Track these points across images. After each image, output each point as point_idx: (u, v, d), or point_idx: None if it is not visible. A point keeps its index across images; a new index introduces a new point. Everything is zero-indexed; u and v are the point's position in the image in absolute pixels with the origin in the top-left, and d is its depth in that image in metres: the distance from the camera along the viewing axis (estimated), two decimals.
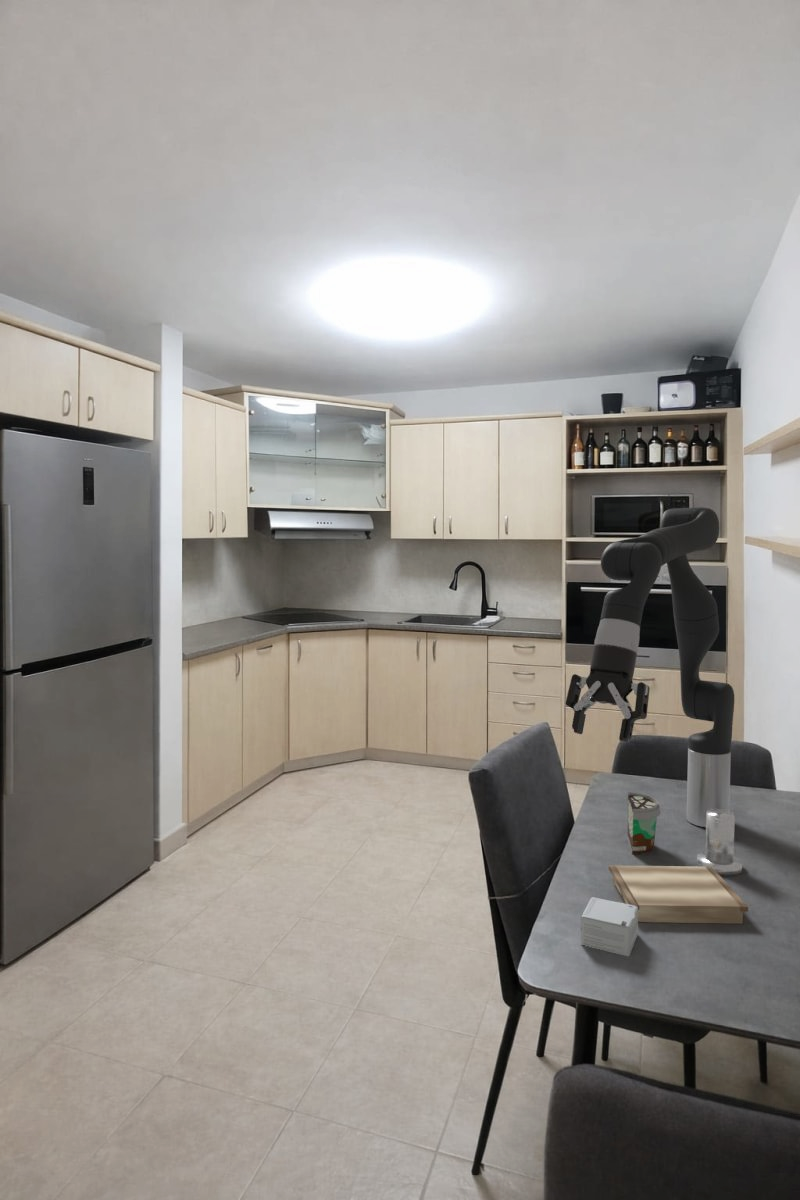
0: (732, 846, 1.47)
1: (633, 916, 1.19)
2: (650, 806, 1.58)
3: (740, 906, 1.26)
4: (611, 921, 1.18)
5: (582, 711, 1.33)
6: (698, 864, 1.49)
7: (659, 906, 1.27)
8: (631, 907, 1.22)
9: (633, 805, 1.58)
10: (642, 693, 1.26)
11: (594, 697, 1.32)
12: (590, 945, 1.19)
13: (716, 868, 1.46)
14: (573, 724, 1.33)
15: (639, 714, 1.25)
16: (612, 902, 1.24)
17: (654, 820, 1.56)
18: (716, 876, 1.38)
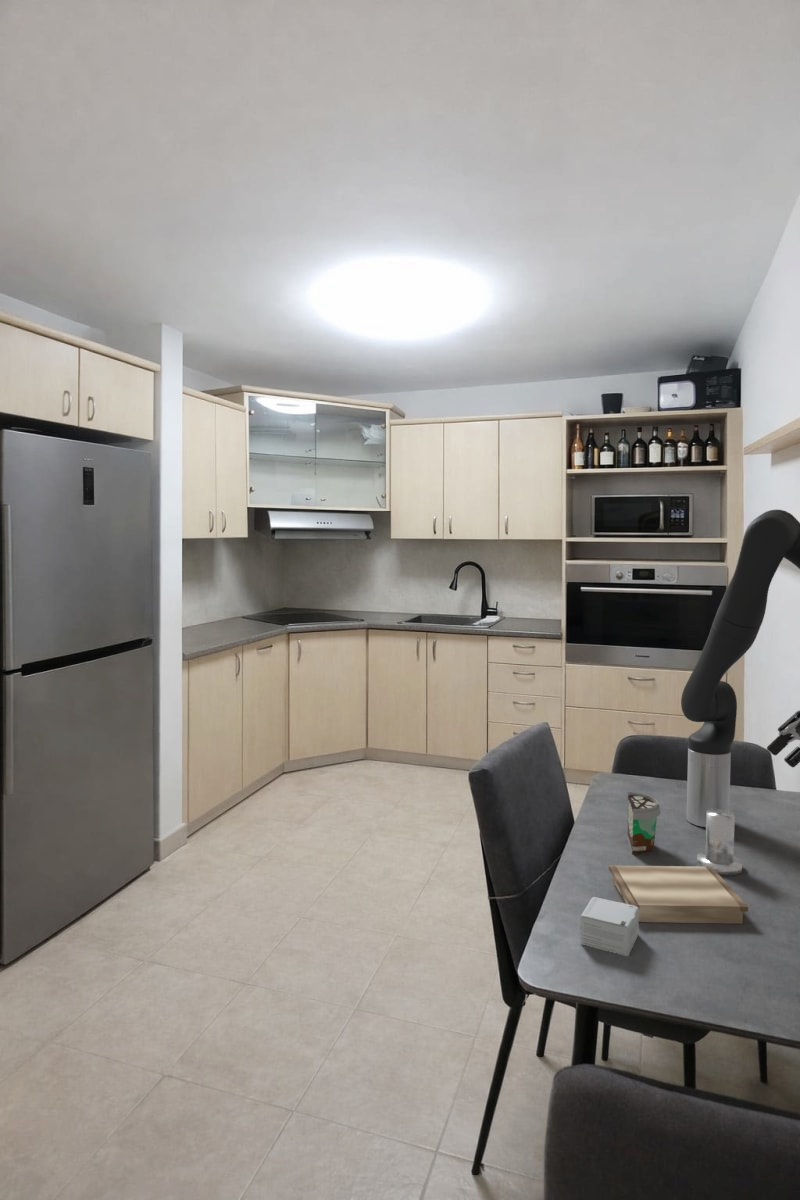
0: (732, 846, 1.47)
1: (633, 916, 1.19)
2: (650, 806, 1.58)
3: (740, 906, 1.26)
4: (610, 921, 1.18)
5: None
6: (698, 864, 1.49)
7: (659, 906, 1.27)
8: (632, 907, 1.22)
9: (633, 805, 1.58)
10: None
11: None
12: (590, 945, 1.19)
13: (716, 868, 1.46)
14: (797, 762, 1.42)
15: None
16: (613, 902, 1.24)
17: (654, 820, 1.56)
18: (716, 876, 1.38)
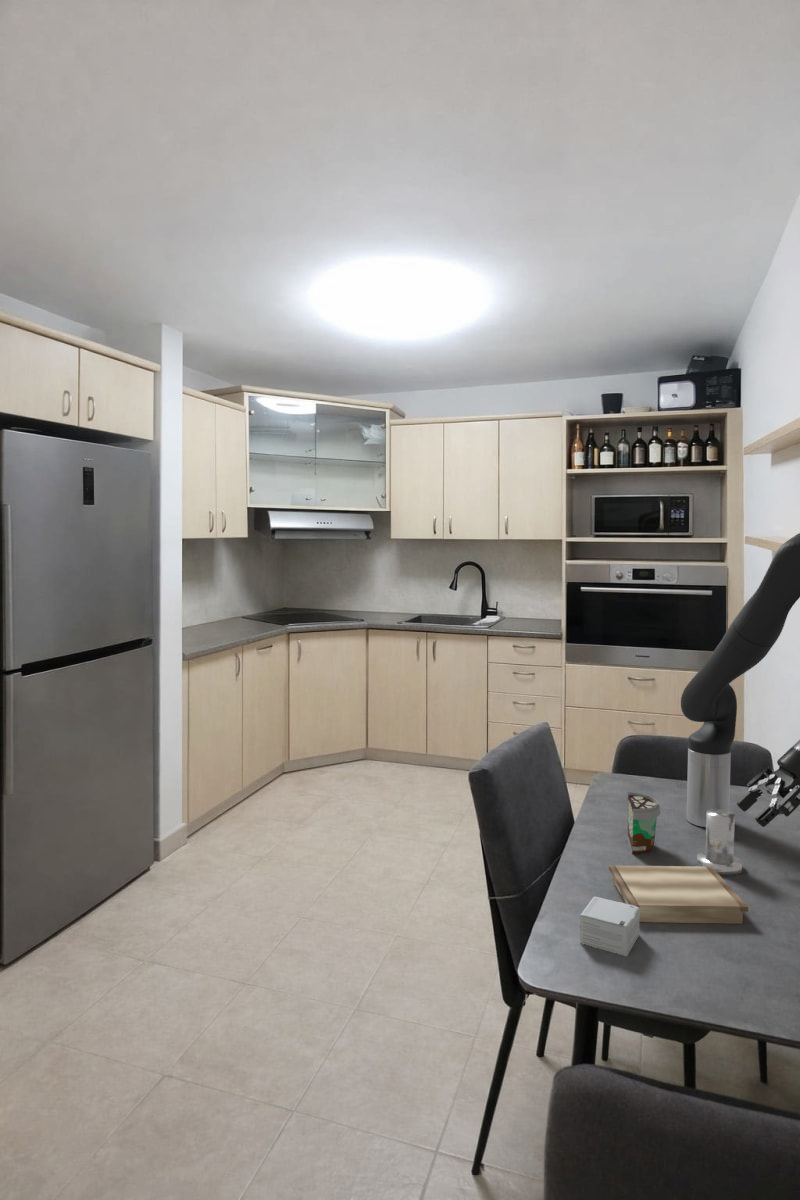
0: (732, 846, 1.47)
1: (633, 916, 1.19)
2: (650, 806, 1.58)
3: (740, 906, 1.26)
4: (609, 920, 1.18)
5: None
6: (698, 864, 1.49)
7: (659, 906, 1.27)
8: (632, 907, 1.22)
9: (633, 805, 1.58)
10: None
11: None
12: (589, 944, 1.20)
13: (716, 868, 1.46)
14: None
15: None
16: (614, 902, 1.24)
17: (654, 820, 1.56)
18: (716, 876, 1.38)
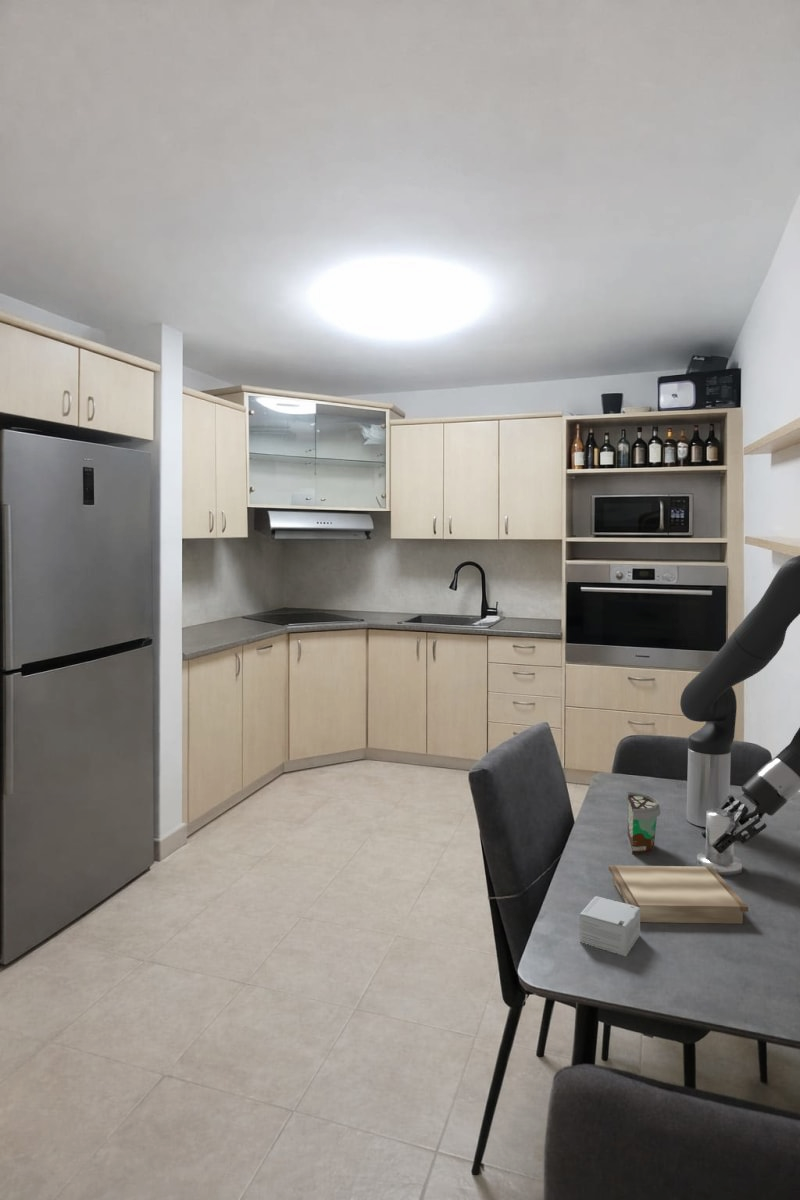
0: (732, 846, 1.47)
1: (633, 916, 1.19)
2: (650, 806, 1.58)
3: (740, 906, 1.26)
4: (608, 920, 1.18)
5: None
6: (698, 864, 1.49)
7: (659, 906, 1.27)
8: (633, 908, 1.22)
9: (633, 805, 1.58)
10: None
11: None
12: (589, 943, 1.20)
13: (716, 868, 1.46)
14: None
15: None
16: (615, 902, 1.24)
17: (654, 820, 1.56)
18: (716, 876, 1.38)
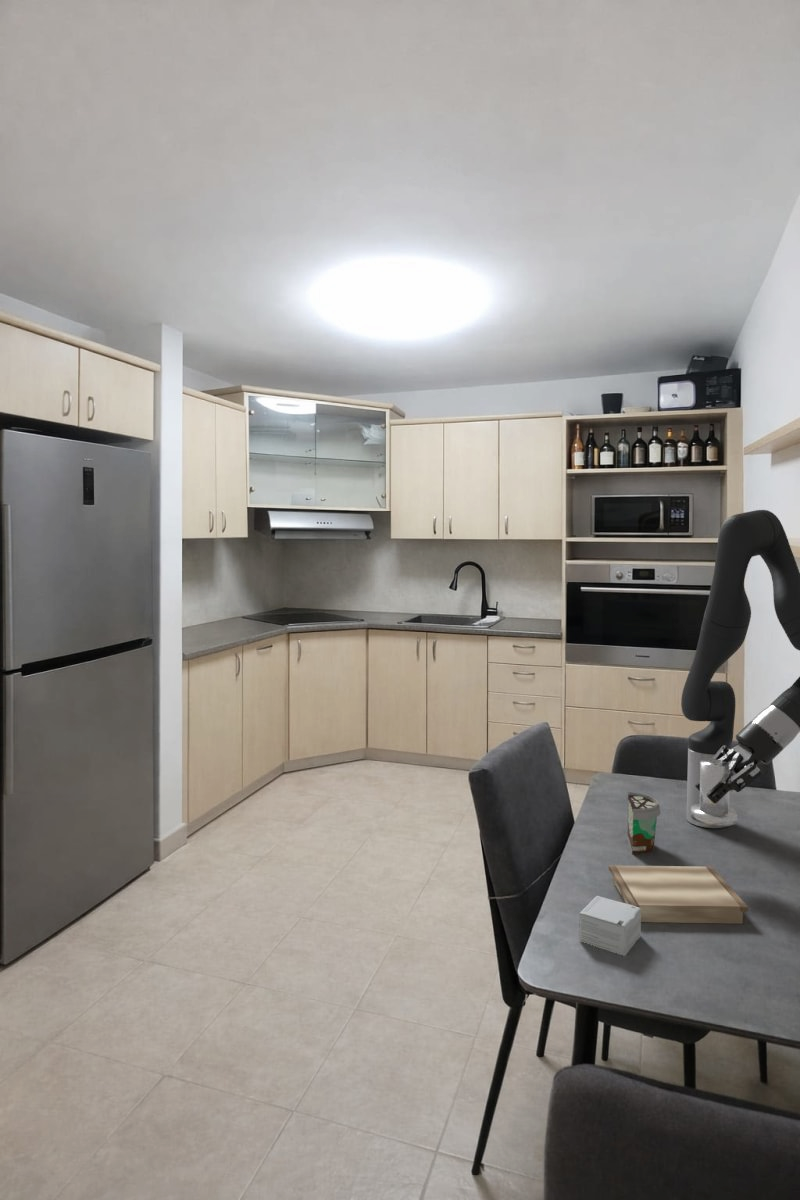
0: (727, 796, 1.42)
1: (632, 916, 1.19)
2: (650, 806, 1.58)
3: (740, 906, 1.26)
4: (608, 919, 1.18)
5: None
6: (692, 816, 1.45)
7: (659, 906, 1.27)
8: (633, 908, 1.22)
9: (633, 805, 1.58)
10: None
11: None
12: (588, 942, 1.20)
13: (710, 818, 1.41)
14: (719, 798, 1.41)
15: None
16: (615, 902, 1.24)
17: (654, 820, 1.56)
18: (716, 876, 1.38)
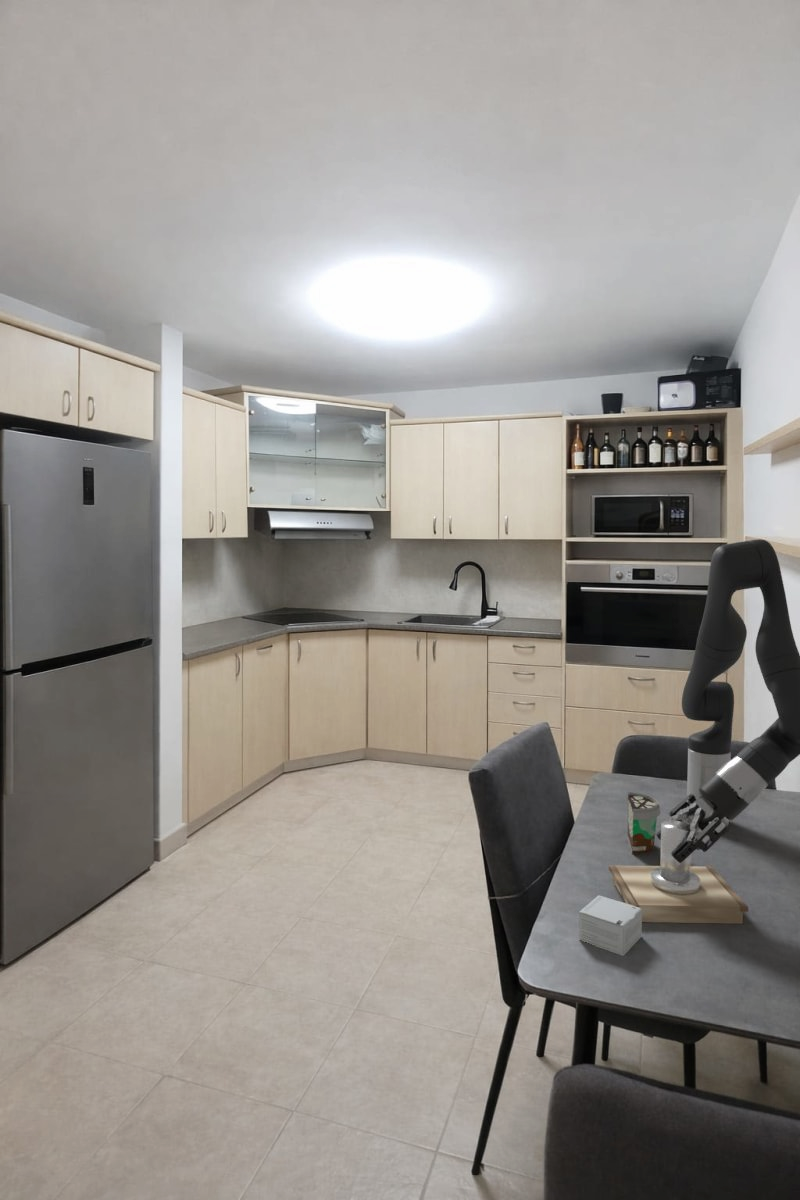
0: (689, 862, 1.32)
1: (632, 917, 1.19)
2: (650, 806, 1.58)
3: (740, 906, 1.26)
4: (607, 919, 1.18)
5: None
6: (652, 882, 1.35)
7: (659, 906, 1.27)
8: (634, 908, 1.22)
9: (633, 805, 1.58)
10: None
11: None
12: (587, 941, 1.20)
13: (670, 887, 1.31)
14: None
15: None
16: (617, 902, 1.24)
17: (654, 820, 1.56)
18: (716, 876, 1.38)
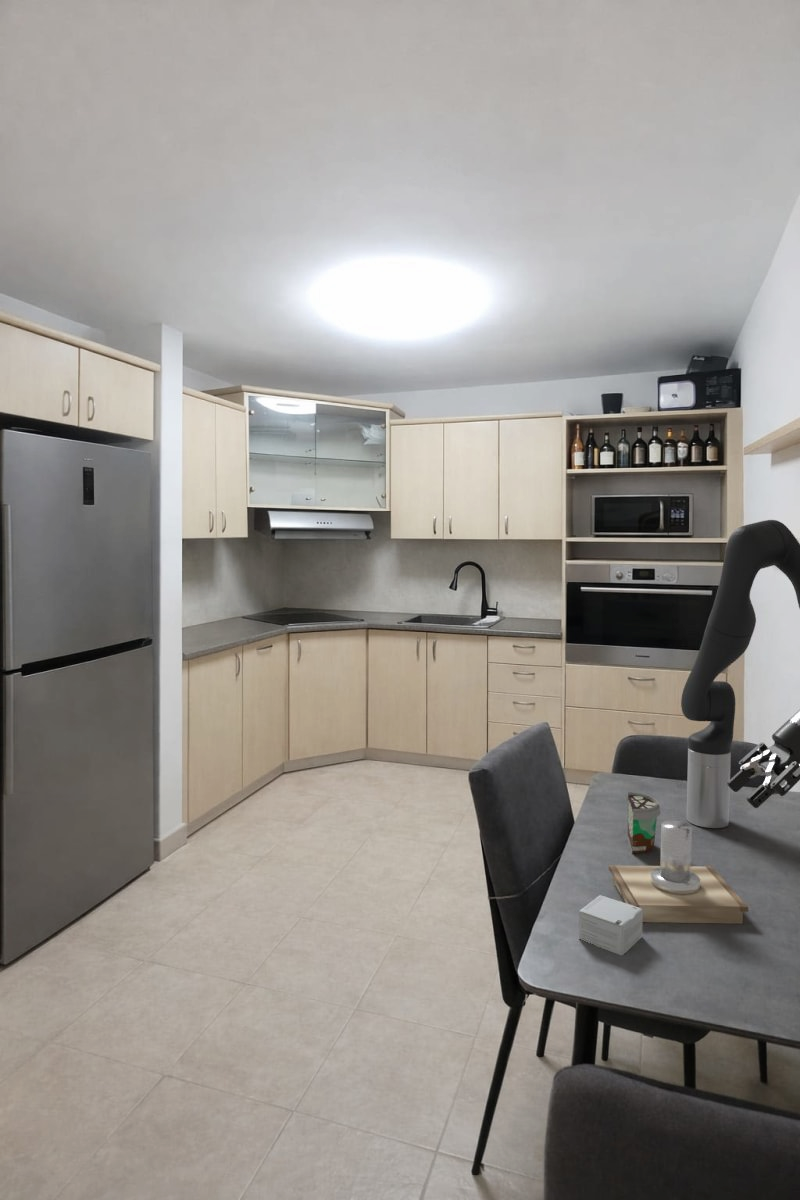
0: (689, 862, 1.32)
1: (632, 917, 1.19)
2: (650, 806, 1.58)
3: (740, 906, 1.26)
4: (606, 918, 1.19)
5: None
6: (652, 882, 1.35)
7: (659, 906, 1.27)
8: (635, 908, 1.22)
9: (633, 805, 1.58)
10: None
11: None
12: (587, 941, 1.21)
13: (670, 887, 1.31)
14: (761, 803, 1.28)
15: None
16: (618, 902, 1.24)
17: (654, 820, 1.56)
18: (716, 876, 1.38)
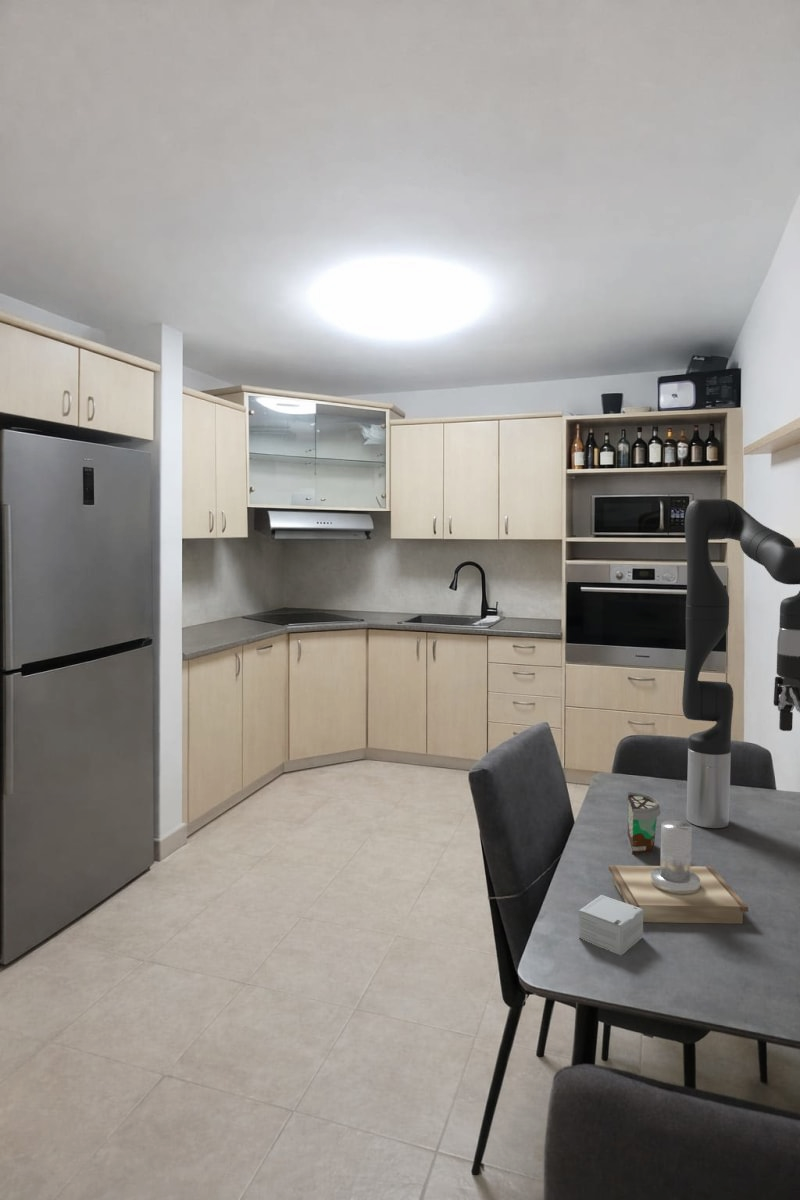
0: (689, 862, 1.32)
1: (632, 917, 1.19)
2: (650, 806, 1.58)
3: (740, 906, 1.26)
4: (605, 918, 1.19)
5: None
6: (652, 882, 1.35)
7: (659, 906, 1.27)
8: (635, 909, 1.22)
9: (633, 805, 1.58)
10: None
11: None
12: (587, 940, 1.21)
13: (670, 887, 1.31)
14: None
15: None
16: (618, 902, 1.24)
17: (654, 820, 1.56)
18: (716, 876, 1.38)
